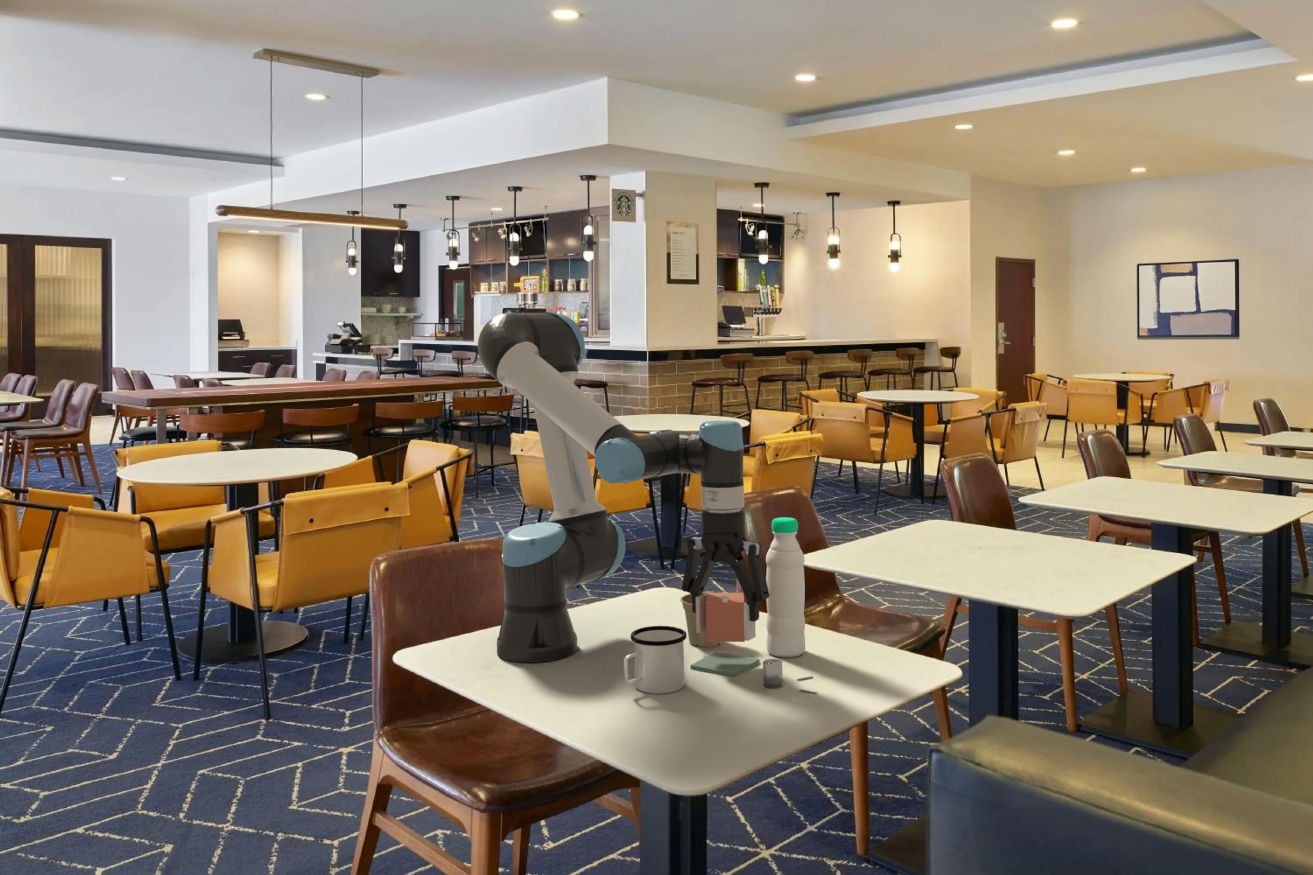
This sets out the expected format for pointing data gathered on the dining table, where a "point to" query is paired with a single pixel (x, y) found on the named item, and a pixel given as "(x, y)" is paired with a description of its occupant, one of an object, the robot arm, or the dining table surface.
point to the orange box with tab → (725, 617)
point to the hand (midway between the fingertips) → (725, 634)
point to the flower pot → (694, 624)
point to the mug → (657, 659)
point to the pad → (725, 664)
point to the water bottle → (785, 591)
